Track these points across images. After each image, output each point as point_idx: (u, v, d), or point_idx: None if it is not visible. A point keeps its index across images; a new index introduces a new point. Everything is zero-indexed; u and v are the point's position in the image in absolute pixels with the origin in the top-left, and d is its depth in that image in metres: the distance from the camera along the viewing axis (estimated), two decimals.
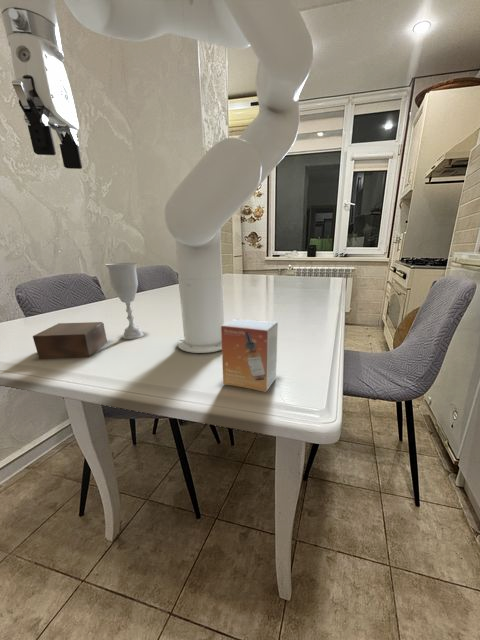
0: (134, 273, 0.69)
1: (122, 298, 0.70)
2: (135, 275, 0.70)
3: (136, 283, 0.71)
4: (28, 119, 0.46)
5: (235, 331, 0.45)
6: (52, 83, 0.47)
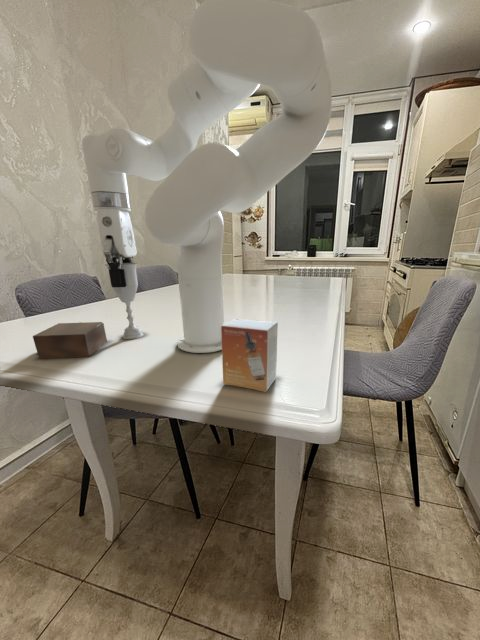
0: (134, 273, 0.69)
1: (122, 298, 0.70)
2: (135, 275, 0.70)
3: (136, 283, 0.71)
4: (110, 267, 0.64)
5: (235, 331, 0.45)
6: (124, 236, 0.64)
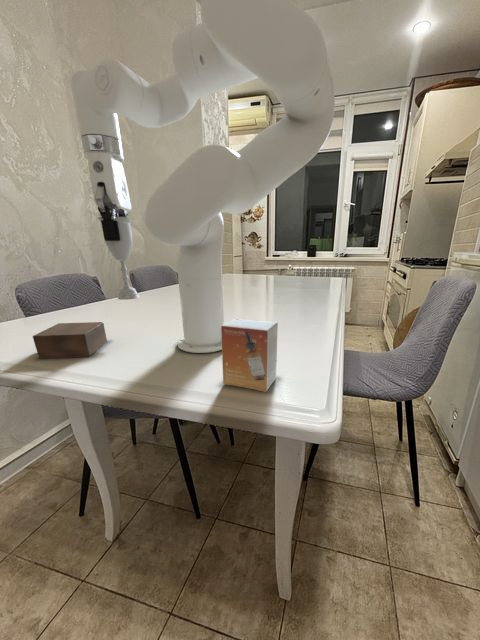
0: (128, 228, 0.66)
1: (116, 255, 0.66)
2: (129, 230, 0.66)
3: (131, 239, 0.67)
4: (102, 218, 0.61)
5: (235, 331, 0.45)
6: (117, 184, 0.60)
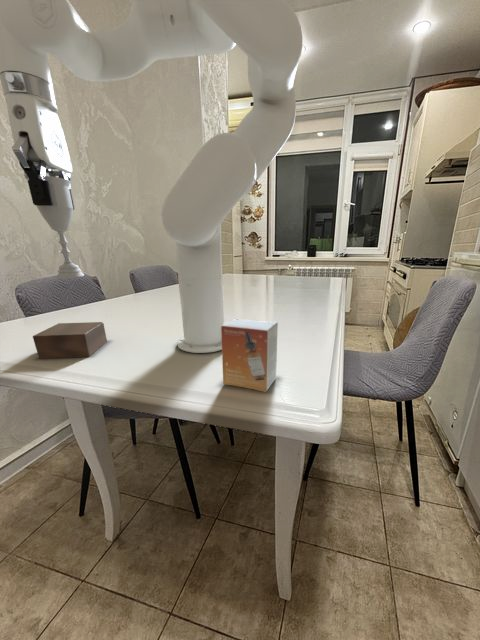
0: (65, 192, 0.56)
1: (51, 224, 0.57)
2: (67, 195, 0.57)
3: (69, 206, 0.57)
4: (27, 176, 0.51)
5: (235, 331, 0.45)
6: (45, 136, 0.51)
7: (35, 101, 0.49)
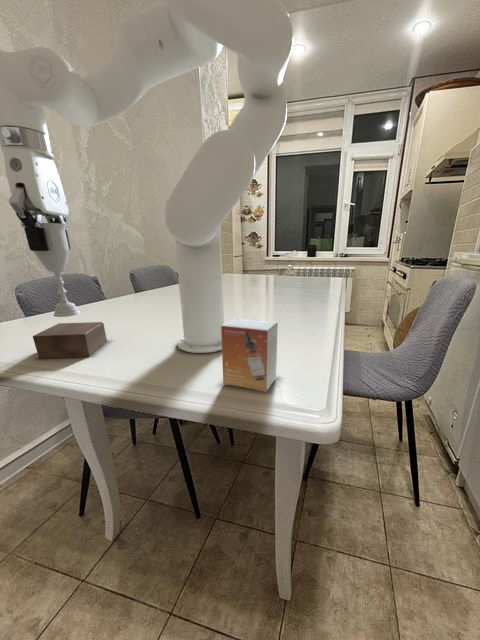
0: (61, 235, 0.57)
1: (48, 266, 0.58)
2: (63, 238, 0.58)
3: (65, 248, 0.58)
4: (24, 224, 0.52)
5: (235, 331, 0.45)
6: (42, 186, 0.52)
7: (31, 153, 0.50)
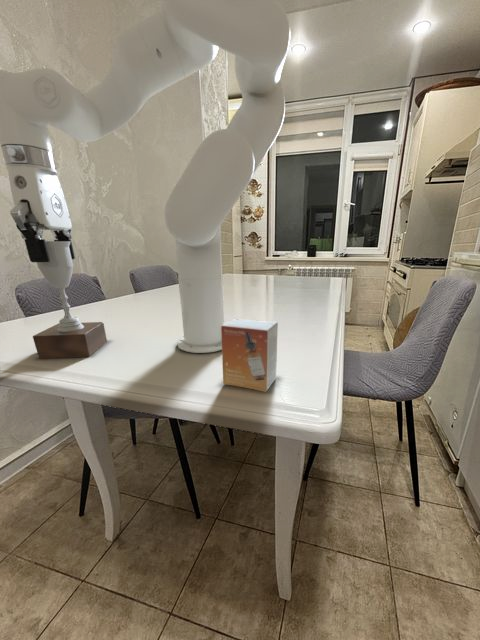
0: (66, 253, 0.58)
1: (52, 282, 0.59)
2: (68, 255, 0.59)
3: (69, 265, 0.59)
4: (24, 236, 0.52)
5: (235, 331, 0.45)
6: (46, 202, 0.53)
7: (36, 171, 0.51)
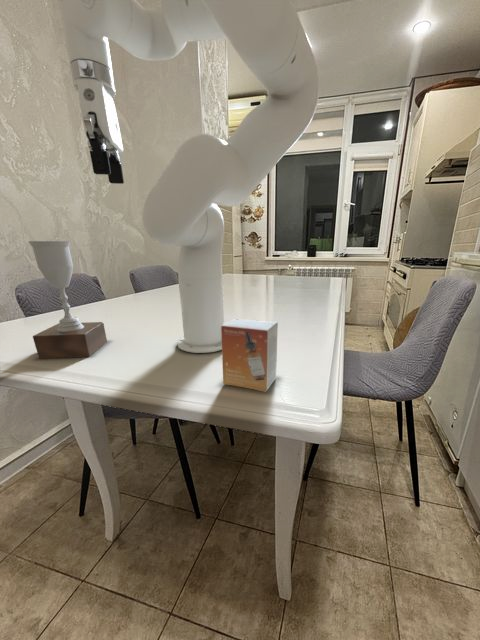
0: (66, 253, 0.58)
1: (52, 282, 0.59)
2: (68, 255, 0.59)
3: (69, 265, 0.59)
4: (91, 146, 0.57)
5: (235, 331, 0.45)
6: (109, 117, 0.58)
7: (102, 86, 0.56)
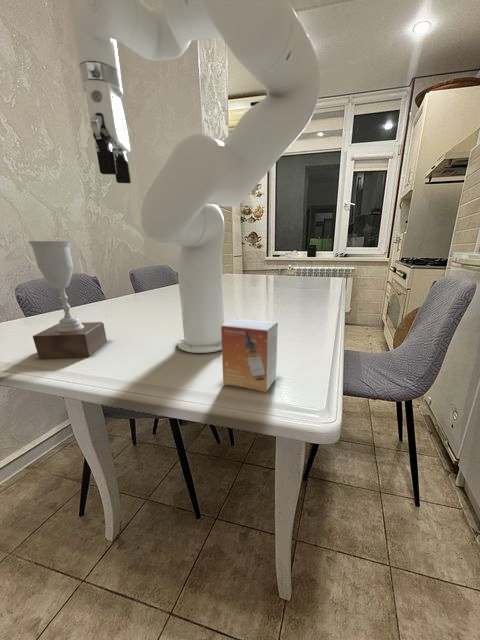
0: (66, 253, 0.58)
1: (52, 282, 0.59)
2: (68, 255, 0.59)
3: (69, 265, 0.59)
4: (98, 147, 0.58)
5: (235, 331, 0.45)
6: (116, 117, 0.59)
7: (109, 87, 0.57)
